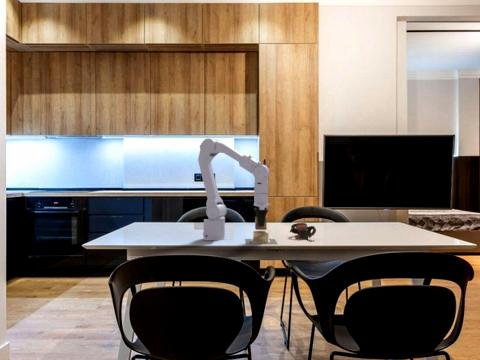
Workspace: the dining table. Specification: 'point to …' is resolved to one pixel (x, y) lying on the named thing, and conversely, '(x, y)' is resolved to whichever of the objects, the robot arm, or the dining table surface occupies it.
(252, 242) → the mat
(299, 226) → the pottery mug
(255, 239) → the oak block
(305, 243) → the dining table surface
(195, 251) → the dining table surface
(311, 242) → the dining table surface
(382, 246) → the dining table surface
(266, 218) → the walnut block
